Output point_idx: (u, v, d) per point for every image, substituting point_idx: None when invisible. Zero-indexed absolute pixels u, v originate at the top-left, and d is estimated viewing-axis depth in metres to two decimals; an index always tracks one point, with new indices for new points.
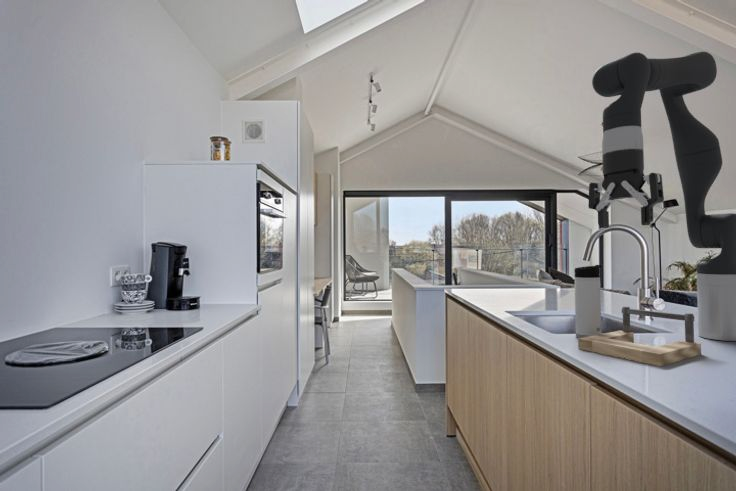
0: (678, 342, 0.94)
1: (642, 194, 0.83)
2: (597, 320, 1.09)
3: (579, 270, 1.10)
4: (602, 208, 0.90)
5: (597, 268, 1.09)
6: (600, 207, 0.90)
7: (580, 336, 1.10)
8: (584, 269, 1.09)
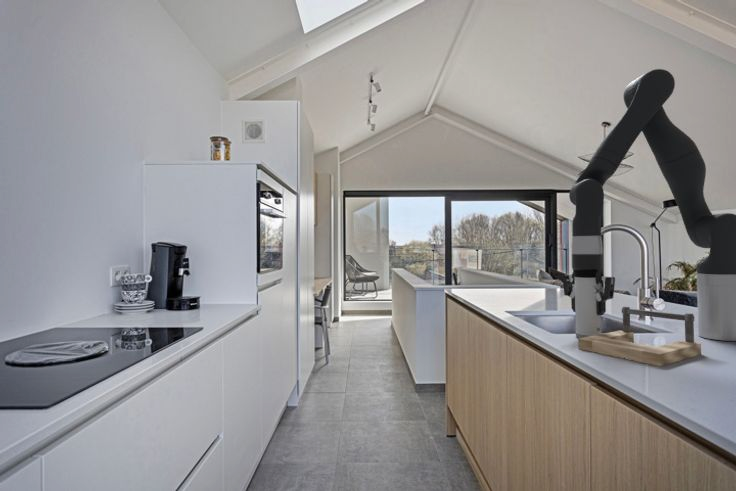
0: (678, 342, 0.94)
1: (599, 290, 1.09)
2: (597, 320, 1.09)
3: (579, 270, 1.10)
4: (574, 296, 1.14)
5: None
6: (573, 296, 1.14)
7: (580, 336, 1.10)
8: None
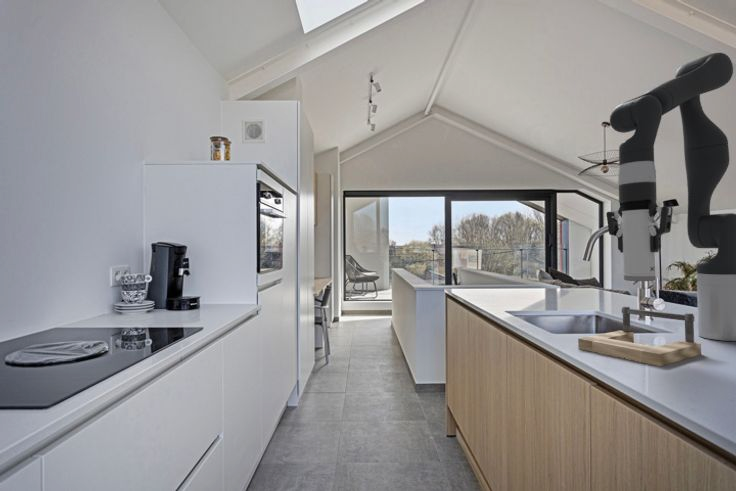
0: (678, 342, 0.94)
1: (653, 224, 0.94)
2: (651, 258, 0.94)
3: (629, 202, 0.96)
4: (622, 235, 1.00)
5: None
6: (620, 234, 1.00)
7: (630, 278, 0.96)
8: None
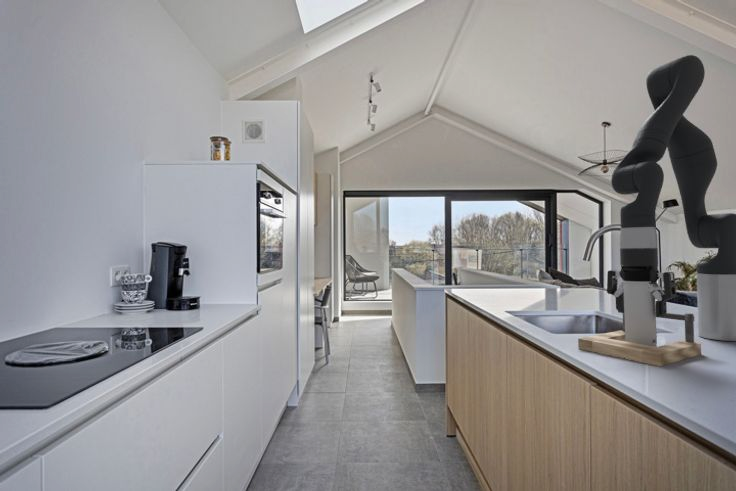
0: (678, 342, 0.94)
1: (656, 289, 0.93)
2: (652, 330, 0.94)
3: (630, 273, 0.96)
4: (620, 295, 1.00)
5: None
6: (618, 294, 1.00)
7: None
8: (636, 271, 0.95)
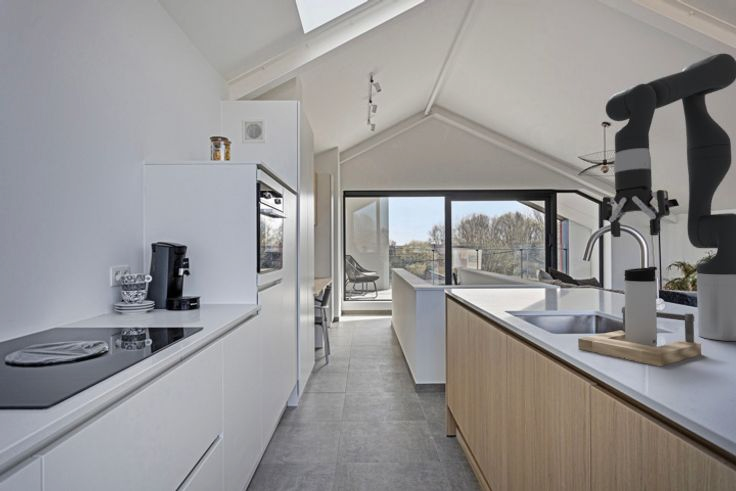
0: (678, 342, 0.94)
1: (650, 208, 0.95)
2: (653, 331, 0.94)
3: (631, 273, 0.96)
4: (614, 220, 1.02)
5: (653, 270, 0.94)
6: (613, 219, 1.02)
7: None
8: (638, 272, 0.94)
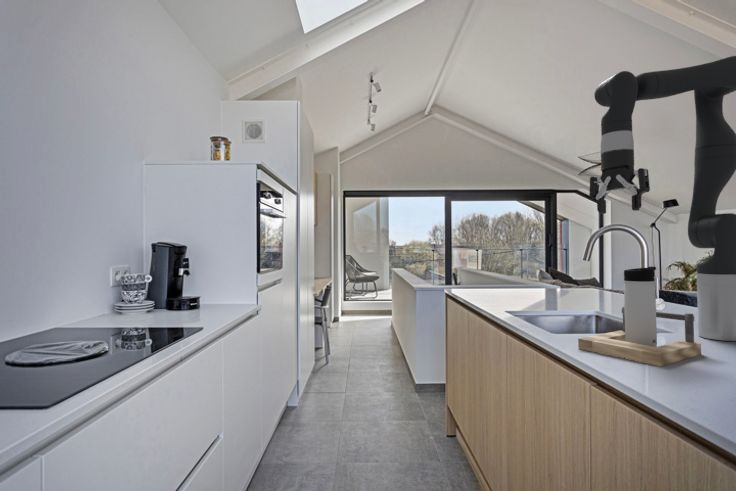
0: (678, 342, 0.94)
1: (632, 185, 1.04)
2: (653, 331, 0.94)
3: (631, 273, 0.96)
4: (600, 197, 1.11)
5: (652, 270, 0.94)
6: (599, 196, 1.11)
7: None
8: (637, 271, 0.95)
